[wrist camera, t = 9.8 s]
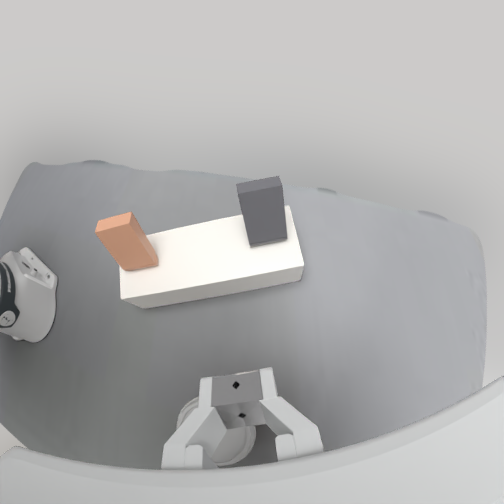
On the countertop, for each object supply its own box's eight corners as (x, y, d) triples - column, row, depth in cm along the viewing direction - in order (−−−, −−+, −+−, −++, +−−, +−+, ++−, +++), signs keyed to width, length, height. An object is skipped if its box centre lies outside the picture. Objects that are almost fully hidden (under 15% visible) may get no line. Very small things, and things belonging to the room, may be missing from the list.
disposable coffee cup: (214, 375, 42) (191, 381, 31) (272, 401, 40) (269, 417, 29) (190, 425, 39) (161, 445, 28) (245, 452, 37) (234, 481, 26)
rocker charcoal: (287, 242, 39) (282, 185, 32) (250, 250, 39) (237, 193, 32) (284, 232, 40) (278, 175, 34) (248, 239, 40) (236, 184, 34)
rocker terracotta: (157, 268, 40) (129, 223, 32) (126, 274, 40) (94, 232, 32) (158, 256, 41) (131, 211, 34) (128, 263, 41) (98, 220, 34)
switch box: (300, 280, 46) (304, 265, 38) (143, 308, 47) (120, 299, 39) (287, 227, 49) (288, 204, 42) (140, 257, 50) (119, 240, 42)
